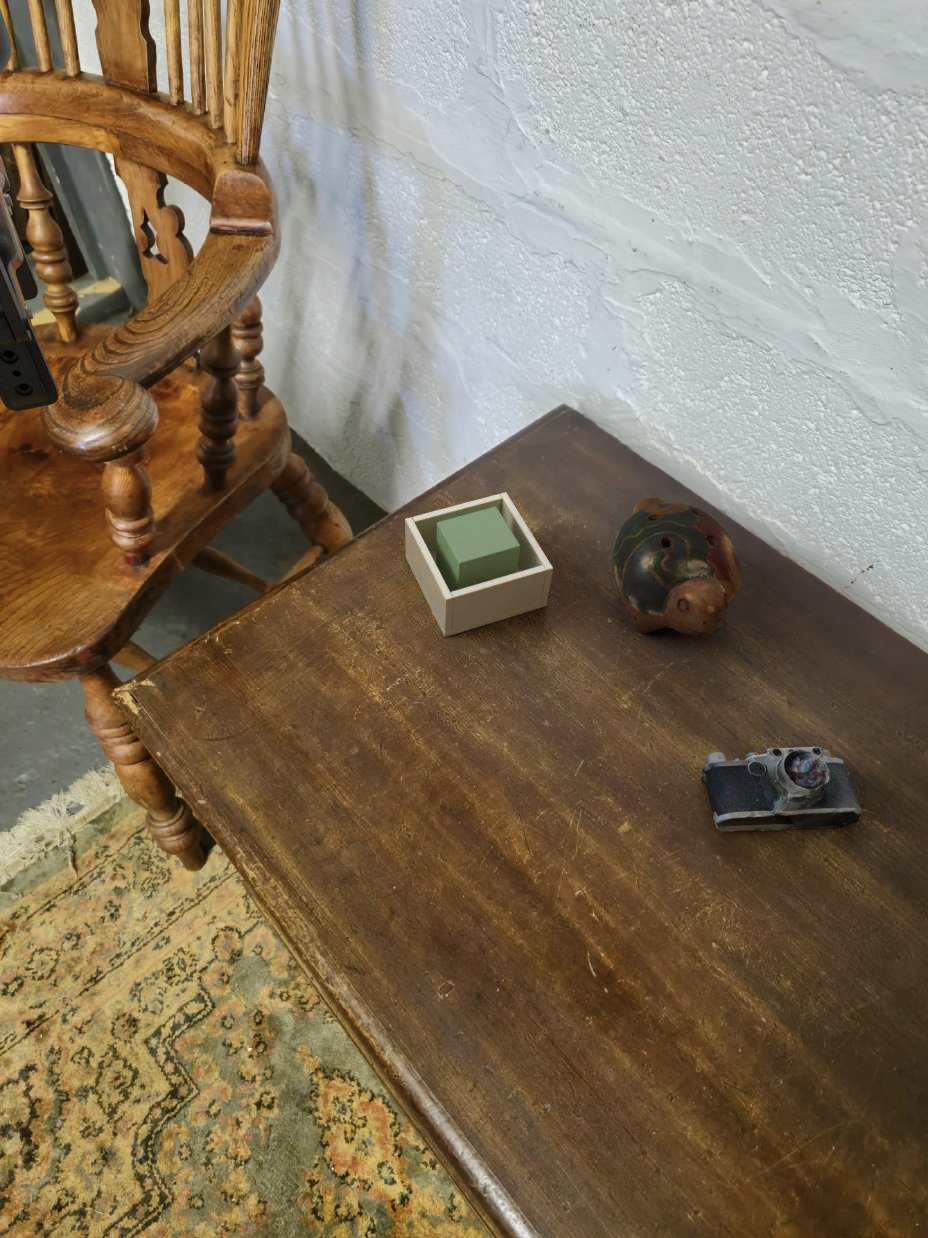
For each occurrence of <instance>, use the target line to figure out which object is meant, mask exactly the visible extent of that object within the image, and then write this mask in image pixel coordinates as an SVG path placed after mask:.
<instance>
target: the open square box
mask: <svg viewBox="0 0 928 1238" xmlns="http://www.w3.org/2000/svg"><path fill="white" fill-rule="evenodd" d="M492 507H497V509H498V510H499V512H500V513H501V515H502V517H503V518H504V520H505V522H506V523H507V525H508V527H509V528H510V530H511V531H512V533H513V535H514V536H515V538H516V540H517V541H518V543H519V545H520V552H519V560H518V567H517V573H514V574H510V575H507V576H504V577H500V578H497V579H493V580H490V581H487V582H483V583H480V584H476V585H473V586H470V587H466V588H463V589H459V590H456V591H453V592H451V593H450V591H449V589H448V587H447V585H446V583H445V581H444V579H443V577H442V575H441V573H440V571H439V569H438V567H437V565H436V550H437V523H438V522H441V521H444V520H448V519H452V518H455V517H459V516H463V515H466V514H470V513H474V512H477V511H481V510H484V509H488V508H492ZM404 533H405V534H404V535H405V536H404V537H405V559H406V561H407V563H408V565H409V567H410V570H411V572H412V574H413V576H414V578H415V580H416V582H417V583H418V586H419V588H420V590H421V592H422V594H423V596H424V598H425V601H426V602H427V605H428V607H429V608H430V610H431V612H432V614H433V617H434V619H435V621H436V623H437V625H438V627H439V629H440V632H441V633H442V636H443V637H444V638H446V637H450V636H453V635H456V634H460V633H463V632H467V631H469V630H472V629H476V628H480V627H483V626H487V625H489V624H493V623H495V622H499V621H502V620H505V619H509V618H512V617H515V616H518V615H521V614H525V613H528V612H532V611H534V610H538V609H541V608H544V607H547V605H548V600H549V598H548V597H549V593H550V588H551V583H552V578H553V572H554V567H553V565H552V564H551V562H550V561H549V559H548V557H547V556H546V554H545V552H544V551H543V549H542V548H541V545H540V544H539V542H538V541H537V539H536V538H535V536H534V534H533V533H532V531H531V530H530V528H529V526H528V525H527V524H526V522H525V520H524V518H523V517H522V515H521V514H520V512H519V510H518V509H517V507H516V505H515V504H514V502H513V501H512V499H511V497H510V495H509V494H508V492H507V491H505V492H501V493H496V494H494V495H490V496H486V497H482V498H479V499H475V500H471V501H467V502H463V503H460V504H455V505H452V506H448V507H444V508H440V509H436V510H433V511H429V512H426V513H421V514H418V515H414V516H411V517H406V518H405V519H404Z"/></svg>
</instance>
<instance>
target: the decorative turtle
mask: <svg viewBox="0 0 928 1238" xmlns="http://www.w3.org/2000/svg"><path fill="white" fill-rule="evenodd" d="M611 568H612V575H613V579H614V582H615V585H616V588H617V589H618V593H619V596H620V598H621V600H622V602H623V604H624V609H625V611H626V613H627V616H628V619H629V621H630V624H631V627H632V628H633V630H634V631H635V632H637V633H639V634H648V633H651V632H654V631H656V630H659V629H664V628H668V629H672V630H674V631H677V632H678V633H682V634H685V635H689V636H704V635H705V636H706V635H708V634H712V633H714V632H716V631H717V630H718V629H719V628H720V626H721V625H722V623H723V621H724V618H725V616H726V613H727V609H728V607H729V606H730V605H731V604H732V602H733V601H734V600H735V598H736V597H737V595H738V594H739V592H740V589H741V585H742V568H741V562H740V559H739V555H738V552H737V550H736V547H735V545H734V542H733V539H732V538H731V537H730V535H729V533H727V531H726V530H725V528H724V527H723V526H722V525H721V524H720V522H718V521H717V520H716V519H715V518H714V517H713V516H712V515H710V514H709V513H708V512H706V511H705V510H703V509H701V508H698V507H696V506H693V505H690V504H685V503H681V502H666V501H665V499H663V498H660V497H654V496H653V497H647V498H644V499H641V500H640V501H638V502H637V503H636V504H635V505H634V508H633V510H632V515H630V516H629V517H628V518H627V519H626V520H625V521H624V523H623V524H622V525H621V527H620V528H619V530H618V532H617V534H616V537H615V540H614V542H613V547H612V556H611Z"/></svg>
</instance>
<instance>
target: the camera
mask: <svg viewBox="0 0 928 1238" xmlns="http://www.w3.org/2000/svg"><path fill="white" fill-rule="evenodd" d="M744 758H745V759H743V760H742V759H741V760H740V758H739V757H736V758H734V760H727V758H726V754H724V753H723V752H721V751H717V752H715V751H714V752H711V753H708V754H707V755H706V756H705V758H704V759H705V763H706V765H704V766H703V767H702V769H701V773H702V774H701V775H700V776H699V780H700V781H701V783H702V784H703V785H704V786H705V790H706V795H707V799H708V803H709V806H710V807H709V808H710V811H711V814H712V818H713V823H714V825H715V829H716V831H717V832H721V833H745V832H770V831H781V830H789V829H793V830H795V829H796V830H798V829H824V828H840V827H841V828H844V827H847V826H851V825H853V824H856V823H858V822H860V820H861V817H862V814H863V810H862V808H861V805H860V803H859V800H858V798H857V795H856V792H855V790H854V786H853V784H852V781H851V778H850V775H851V774H850V772H849V770H848V768H847V767H846V765H845V761H844V760H843V759H842V758H838V757H832V755H831V752H830V751H829V750H828V749H823V748H822V747H819V746H802V747H801V746H800V747H774V748H773V747H772V748H767V749H766V750H765V751H764V752H763V753H762V754H760V753H759V752H748V753H747V754H746V755H745V756H744Z"/></svg>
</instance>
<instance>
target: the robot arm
mask: <svg viewBox="0 0 928 1238" xmlns="http://www.w3.org/2000/svg"><path fill="white" fill-rule="evenodd" d="M12 50H13V45H12V39H11V36H10V33H9V31H8V27H7V24H6V21H5V18H4V14H3V12H2V9H1V8H0V74H1V73H2V72H3V71H4V69H5V68H6V67H7V66H8V64H9V62H10V60H11V57H12V52H13V51H12ZM11 188H12V186H11V183H10V180H9V177H8V174H7V170H6V168H5V164H4V161H3V158H2V156H1V155H0V400H1V401H2V404H3V406H5V408H6V409H8V410H10V411H14V412H22V411H27V410H32V409H37V408H42V407H46V406H51V405H54V404H56V402H57V401H58V400H59V389H58V385H57V382H56V381H55V377H54V375H53V373H52V370H51V367H50V366H49V365H50V364H49V363H48V361H47V358H46V356H45V353H44V351H43V348H42V346H41V343H40V342H39V339H38V336H37V334H36V331H35V329H34V327H33V322H32V320H34V315H33V312H32V309H31V307H30V305H27V304H26V301H30V300H33V299H35V298H37V296H38V294H39V288H38V283H37V280H36V278H35V275H34V272H33V269H32V266H31V265H30V262H29V260H28V257H27V254H26V251H25V249H24V246H23V243H22V241H21V239H20V237H19V234H18V231H17V229H16V226H15V223H14V221H13V218H12V217H11V216H13V210H12V207H13V206H14V205H13V201H12V198H11V196H10V193H7V192H9V191H10V190H11Z"/></svg>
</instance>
